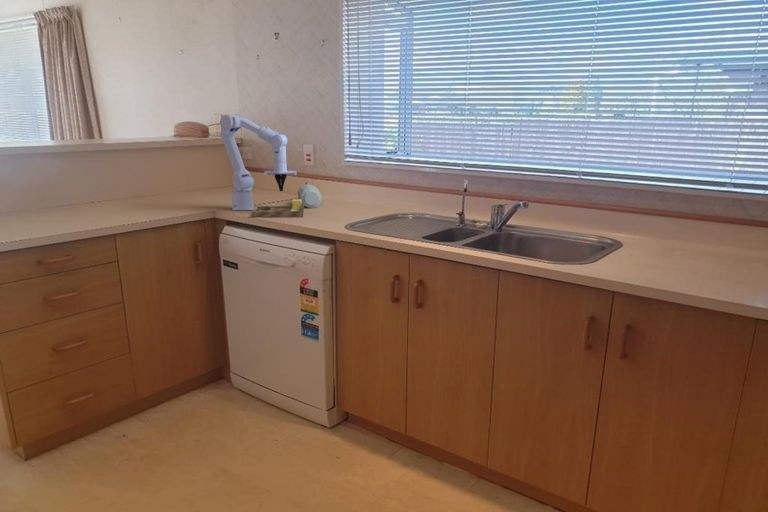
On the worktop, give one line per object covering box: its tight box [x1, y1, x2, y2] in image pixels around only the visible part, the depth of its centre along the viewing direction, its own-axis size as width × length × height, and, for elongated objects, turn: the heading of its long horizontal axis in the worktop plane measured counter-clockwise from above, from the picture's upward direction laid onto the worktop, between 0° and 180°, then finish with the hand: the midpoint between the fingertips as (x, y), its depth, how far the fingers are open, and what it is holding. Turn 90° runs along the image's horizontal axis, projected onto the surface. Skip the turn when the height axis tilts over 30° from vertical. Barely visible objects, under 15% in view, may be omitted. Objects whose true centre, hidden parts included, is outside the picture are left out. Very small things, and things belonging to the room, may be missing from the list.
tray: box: [253, 203, 305, 218], centre depth 247 cm, size 22×13×4 cm, turn 96°
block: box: [291, 198, 302, 210], centre depth 250 cm, size 4×4×4 cm
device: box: [297, 182, 323, 209], centre depth 275 cm, size 31×10×10 cm, turn 16°
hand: (281, 190), depth 251 cm, fingers closed
